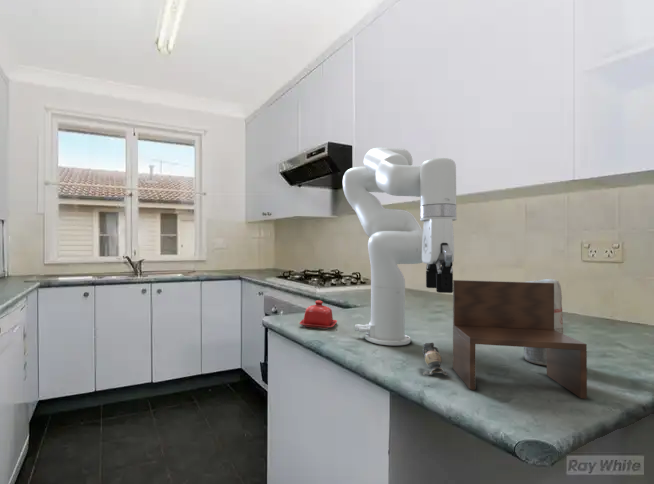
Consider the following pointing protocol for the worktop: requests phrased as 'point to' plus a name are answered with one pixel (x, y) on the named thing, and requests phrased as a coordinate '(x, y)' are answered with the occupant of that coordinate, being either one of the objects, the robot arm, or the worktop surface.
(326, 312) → the butter dish
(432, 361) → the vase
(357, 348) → the worktop surface
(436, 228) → the robot arm
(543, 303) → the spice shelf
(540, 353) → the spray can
